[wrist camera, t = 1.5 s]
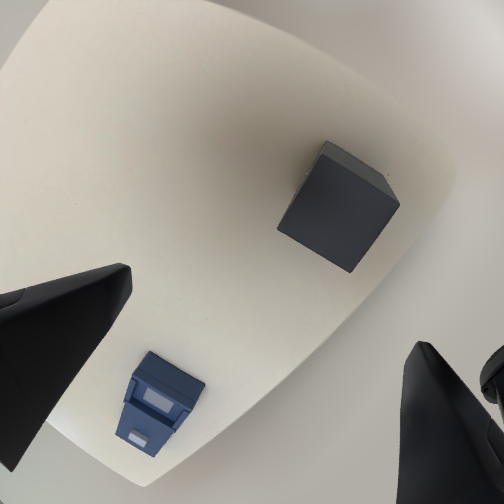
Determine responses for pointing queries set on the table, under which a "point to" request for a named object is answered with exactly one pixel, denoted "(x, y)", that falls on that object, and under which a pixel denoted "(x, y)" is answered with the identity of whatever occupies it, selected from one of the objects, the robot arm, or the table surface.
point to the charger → (339, 208)
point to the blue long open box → (156, 404)
